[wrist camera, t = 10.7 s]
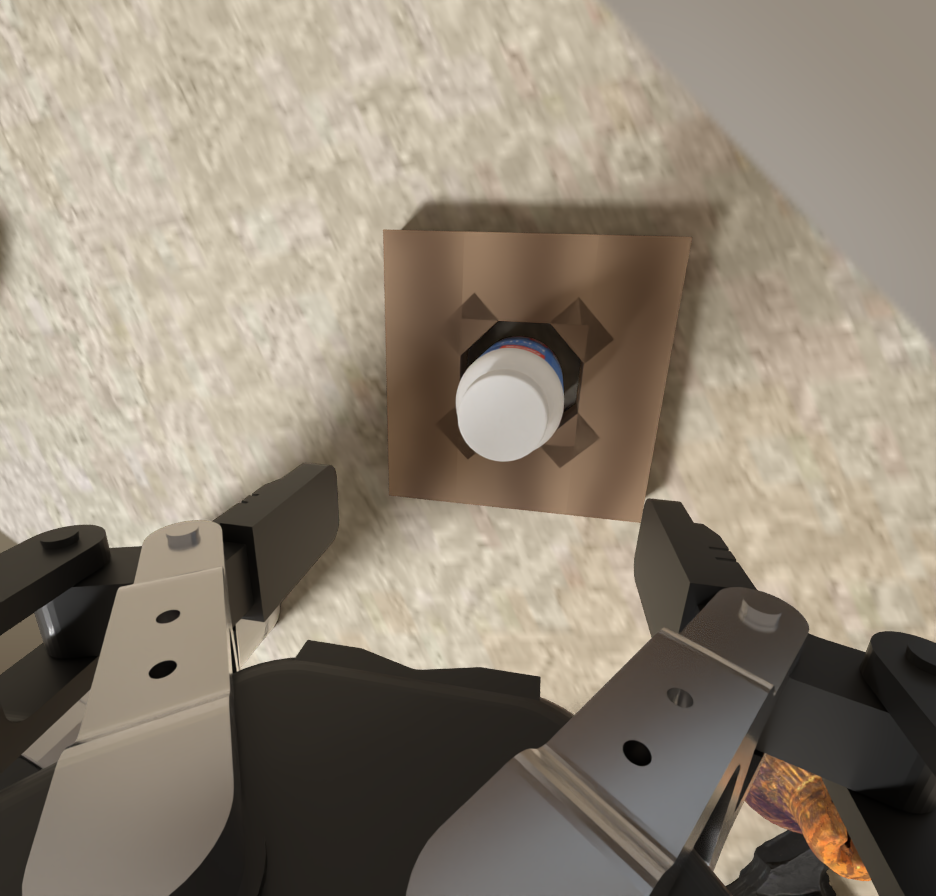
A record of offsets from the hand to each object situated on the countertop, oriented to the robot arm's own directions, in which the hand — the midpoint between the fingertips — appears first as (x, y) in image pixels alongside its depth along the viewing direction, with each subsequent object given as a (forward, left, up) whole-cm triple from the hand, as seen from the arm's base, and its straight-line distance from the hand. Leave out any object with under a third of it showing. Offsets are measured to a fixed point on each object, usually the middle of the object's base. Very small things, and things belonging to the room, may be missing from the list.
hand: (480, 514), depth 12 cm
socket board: (0, 0, -19) cm, 19 cm away
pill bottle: (0, 0, -19) cm, 19 cm away
